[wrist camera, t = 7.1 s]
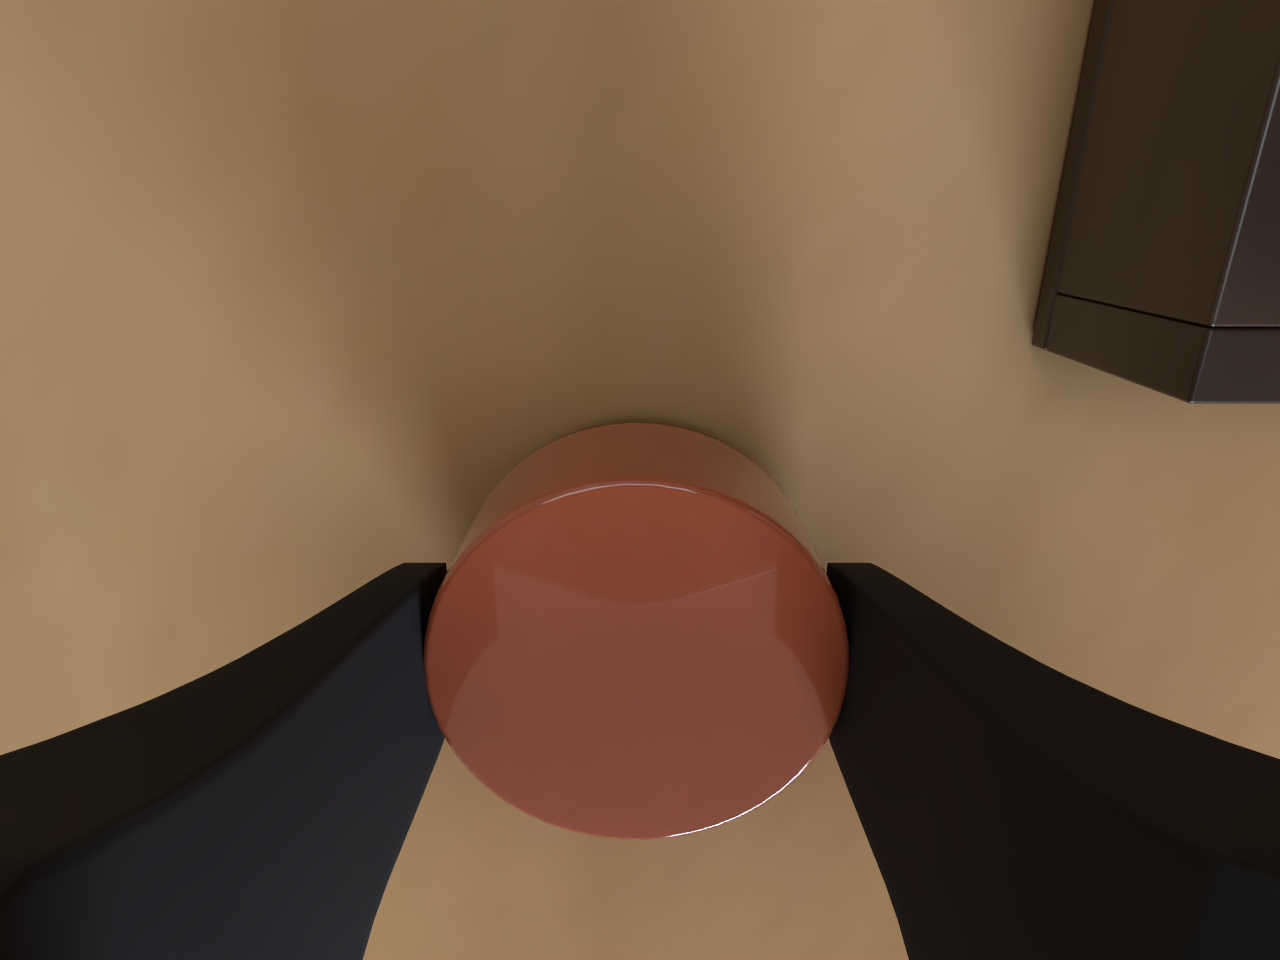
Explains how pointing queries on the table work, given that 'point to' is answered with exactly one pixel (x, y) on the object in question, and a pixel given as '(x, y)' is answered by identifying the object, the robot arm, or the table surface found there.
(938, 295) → the table surface
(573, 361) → the table surface
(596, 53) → the table surface
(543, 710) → the terracotta coaster
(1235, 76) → the dark brown tray
